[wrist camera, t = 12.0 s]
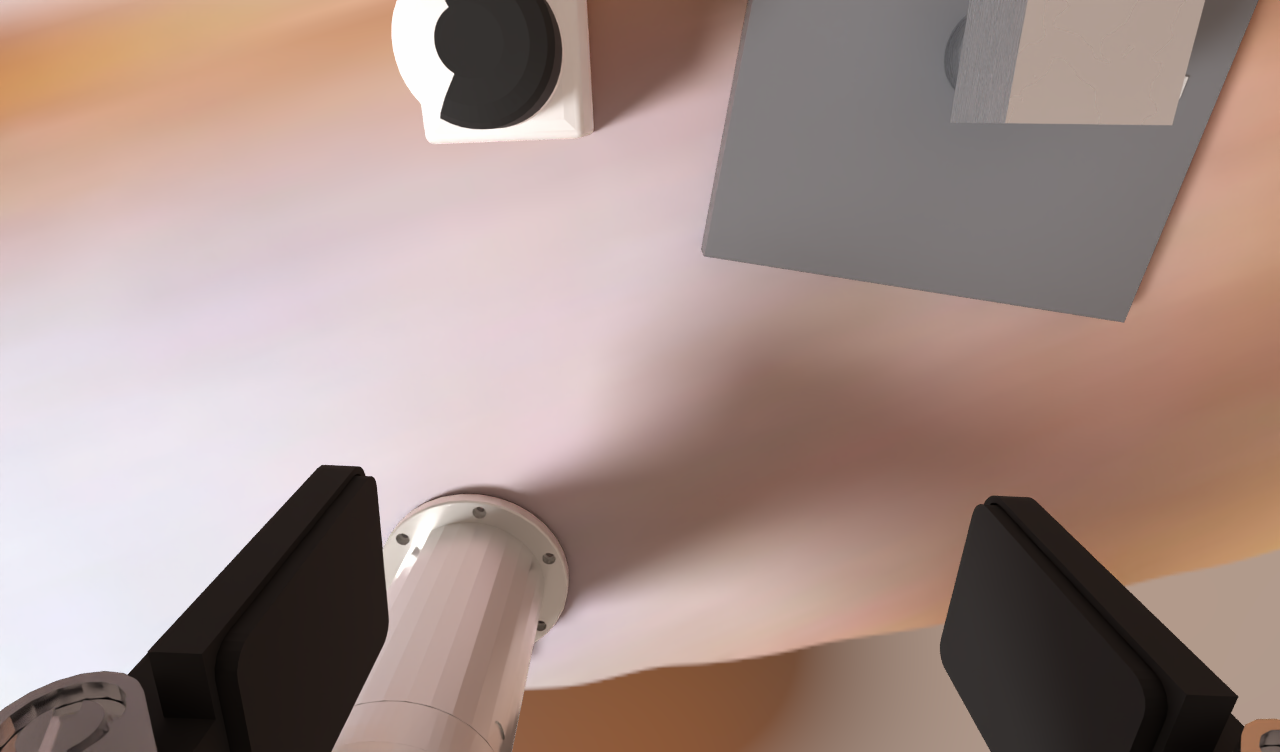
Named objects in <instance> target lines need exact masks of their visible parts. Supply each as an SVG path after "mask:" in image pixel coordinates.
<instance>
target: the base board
mask: <svg viewBox="0 0 1280 752" xmlns="http://www.w3.org/2000/svg"><path fill="white" fill-rule="evenodd" d="M1257 2H1258V0H1205V3H1204V6H1203V10H1202V14H1201V18H1200V22H1199V25H1198V29H1197V33H1196V37H1195V41H1194V44H1193V48H1192V52H1191V56H1190V59H1189V63H1188V67H1187V71H1186V75H1185V78H1184V82H1183V86H1182V90H1181V94H1180V97H1179V101H1178V105H1177V109H1176V113H1175V116H1174V120H1173V124H1172V125H1099V124H1019V123H950V120H951V114H952V108H953V101H954V95H955V90H954V89H953V88H952V86H951V85H950V83H949V81H948V79H947V76H946V73H945V67H944V55H945V49H946V45H947V42H948V40H949V37H950V35H951V33H952V32H953V30H954V28H955V27H956V26H957V25H958V23H959V22H960V21H961V20H962V19H963V18H964V17H965V16H966V15H967V13H968V6H969V0H748V3H747V8H746V14H745V19H744V24H743V30H742V35H741V40H740V46H739V51H738V56H737V61H736V67H735V72H734V77H733V83H732V88H731V93H730V99H729V104H728V109H727V115H726V120H725V125H724V131H723V136H722V141H721V147H720V152H719V157H718V163H717V168H716V173H715V179H714V184H713V189H712V195H711V200H710V205H709V210H708V216H707V221H706V226H705V232H704V237H703V242H702V248H701V250H702V253H703V255H704V256H706V257H712V258H719V259H725V260H731V261H738V262H744V263H750V264H757V265H763V266H769V267H776V268H782V269H788V270H795V271H801V272H807V273H814V274H820V275H826V276H833V277H839V278H845V279H852V280H858V281H864V282H871V283H877V284H883V285H890V286H896V287H902V288H909V289H915V290H921V291H928V292H934V293H940V294H947V295H953V296H959V297H966V298H972V299H978V300H985V301H991V302H997V303H1004V304H1010V305H1016V306H1023V307H1029V308H1035V309H1042V310H1048V311H1054V312H1061V313H1067V314H1073V315H1080V316H1086V317H1092V318H1099V319H1105V320H1111V321H1118V322H1124V321H1125V319H1126V317H1127V314H1128V312H1129V309H1130V307H1131V305H1132V302H1133V300H1134V297H1135V295H1136V293H1137V290H1138V288H1139V285H1140V283H1141V281H1142V278H1143V276H1144V274H1145V271H1146V269H1147V266H1148V264H1149V262H1150V259H1151V257H1152V254H1153V252H1154V250H1155V247H1156V245H1157V242H1158V240H1159V238H1160V235H1161V233H1162V230H1163V228H1164V226H1165V223H1166V221H1167V218H1168V216H1169V214H1170V211H1171V209H1172V206H1173V204H1174V202H1175V199H1176V197H1177V194H1178V192H1179V190H1180V187H1181V185H1182V182H1183V180H1184V178H1185V175H1186V173H1187V170H1188V168H1189V166H1190V163H1191V161H1192V158H1193V156H1194V154H1195V151H1196V149H1197V146H1198V144H1199V142H1200V139H1201V137H1202V134H1203V132H1204V130H1205V127H1206V125H1207V122H1208V120H1209V118H1210V115H1211V113H1212V110H1213V108H1214V106H1215V103H1216V101H1217V98H1218V96H1219V94H1220V91H1221V89H1222V86H1223V84H1224V82H1225V79H1226V77H1227V74H1228V72H1229V70H1230V67H1231V65H1232V62H1233V60H1234V58H1235V55H1236V53H1237V50H1238V48H1239V46H1240V43H1241V41H1242V38H1243V36H1244V34H1245V31H1246V29H1247V26H1248V24H1249V22H1250V19H1251V17H1252V14H1253V12H1254V10H1255V7H1256V5H1257Z"/></svg>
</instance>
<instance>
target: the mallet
mask: <svg viewBox="0 0 1280 752" xmlns="http://www.w3.org/2000/svg"><path fill="white" fill-rule="evenodd" d="M1204 3H1205V0H969V6H968V13H967V19H966V25H965V32H964V38H963V44H962V51H961V57H960V63H959V70H958V76H957V82H956V89H955V95H954V101H953V108H952V114H951V120H950V123H1019V124H1099V125H1172V124H1173V120H1174V116H1175V113H1176V109H1177V105H1178V101H1179V97H1180V94H1181V90H1182V86H1183V82H1184V78H1185V75H1186V71H1187V67H1188V63H1189V59H1190V56H1191V52H1192V48H1193V44H1194V41H1195V37H1196V33H1197V29H1198V25H1199V22H1200V18H1201V14H1202V10H1203V6H1204Z"/></svg>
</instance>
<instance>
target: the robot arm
mask: <svg viewBox="0 0 1280 752" xmlns="http://www.w3.org/2000/svg"><path fill="white" fill-rule="evenodd" d="M480 507H482V508H480ZM568 585H569V573H568V564H567V561H566V558H565V555H564V551H563V549H562V547H561V546H560V544H559V542H558V540H557V539H556V537H555V536H554V534H553V533H552V532H551V531H550V530H549V529H548V527H547V526H546V525H545V524H544V523H543V522H542V521H540V520H539V519H538V518H537V517H535V516H534V515H533V514H532V513H530V512H529V511H527V510H525V509H523V508H521V507H520V506H518V505H516V504H514V503H511V502H508V501H505V500H503V499H500V498H497V497H491V496H486V495H480V494H457V495H451V496H445V497H440V498H438V499H435V500H432V501H429V502H426V503H424V504H423V505H421V506H419V507H417V508H416V509H414V510H412V511H411V512H410V513H409V514H407V515H406V516H405V517H404V518H403V519H402V520H401V521H400V522H399V523H398V524H397V526H396V527H395V529H394V530H393V531H392V533H391V534H390V536H389V538H388V540H387V542H386V544H385V545H384V547H383V548H382V537H381V527H380V516H379V505H378V494H377V485H376V481H375V479H374V478H373V477H372V476H365V473H364V471H363V469H362V468H361V467H357V466H335V465H321V466H320V467H319V468H317V469H316V471H315V472H314V473H313V474H312V475H311V476H310V477H309V478H308V479H307V480H306V481H305V482H304V483H303V485H302V486H301V487H300V488H299V489H298V490H297V491H296V492H295V493H294V494H293V495H292V496H291V497H290V499H289V500H288V501H287V502H286V503H285V504H284V505H283V506H282V507H281V508H280V509H279V510H278V512H277V513H276V514H275V515H274V516H273V517H272V518H271V519H270V520H269V521H268V522H267V523H266V524H265V526H264V527H263V528H262V529H261V530H260V531H259V532H258V533H257V534H256V535H255V536H254V537H253V538H252V540H251V541H250V542H249V543H248V544H247V545H246V546H245V547H244V548H243V549H242V550H241V551H240V553H239V554H238V555H237V556H236V557H235V558H234V559H233V560H232V561H231V562H230V563H229V564H228V565H227V567H226V568H225V569H224V570H223V571H222V572H221V573H220V574H219V575H218V576H217V577H216V578H215V579H214V581H213V582H212V583H211V584H210V585H209V586H208V587H207V588H206V589H205V590H204V591H203V592H202V593H201V595H200V596H199V597H198V598H197V599H196V600H195V601H194V602H193V603H192V604H191V605H190V606H189V608H188V609H187V610H186V611H185V612H184V613H183V614H182V615H181V616H180V617H179V618H178V619H177V620H176V622H175V623H174V624H173V625H172V626H171V627H170V628H169V629H168V630H167V631H166V632H165V633H164V634H163V636H162V637H161V638H160V639H159V640H158V641H157V642H156V643H155V644H154V645H153V646H152V647H151V649H150V650H149V651H148V653H147V654H146V655H145V656H144V658H143V659H142V660H141V661H140V662H139V663H138V664H137V665H136V666H135V667H134V668H133V669H132V670H131V672H130V673H129V674H128V675H127V674H125V673H118V672H109V671H101V672H92V673H83V674H79V675H75V676H72V677H68V678H65V679H61V680H58V681H55V682H52V683H50V684H48V685H46V686H43V687H41V688H39V689H36V690H34V691H32V692H30V693H28V694H26V695H25V696H23V697H21V698H20V699H18V700H16V701H15V702H13V703H11V704H10V705H8V706H6V707H5V708H4V709H2V710H1V711H0V752H512V748H513V743H514V738H515V733H516V728H517V723H518V718H519V714H520V709H521V704H522V699H523V694H524V689H525V684H526V679H527V674H528V670H529V665H530V660H531V655H532V650H533V645H534V643H535V642H537V641H538V640H539V639H541V638H542V637H543V636H544V635H546V634H547V633H548V632H549V631H550V629H551V628H552V627H553V626H554V625H555V623H556V622H557V621H558V619H559V617H560V615H561V613H562V611H563V609H564V606H565V602H566V598H567V593H568ZM940 654H941V660H942V663H943V665H944V668H945V670H946V672H947V673H948V675H949V677H950V679H951V681H952V682H953V684H954V686H955V688H956V690H957V691H958V693H959V695H960V697H961V699H962V701H963V702H964V704H965V706H966V708H967V709H968V711H969V713H970V715H971V717H972V719H973V720H974V722H975V724H976V726H977V728H978V729H979V731H980V733H981V735H982V737H983V738H984V740H985V742H986V744H987V746H988V747H989V749H990V751H991V752H1280V720H1278V719H1257V720H1255V721H1252V722H1250V723H1248V724H1246V725H1245V727H1244V726H1243V725H1242V724H1241V723H1240V722H1239V721H1238V720H1237V719H1236V718H1235V717H1234V716H1233V715H1232V714H1231V712H1232V709H1233V707H1234V705H1235V703H1236V700H1237V698H1238V696H1237V695H1236V694H1235V693H1234V692H1233V691H1232V690H1231V689H1230V688H1229V687H1228V686H1227V685H1226V684H1225V683H1223V682H1222V680H1221V679H1219V678H1218V677H1217V676H1216V675H1215V674H1214V673H1213V672H1212V671H1211V670H1210V669H1209V668H1208V667H1207V666H1206V665H1205V664H1204V663H1203V662H1202V661H1201V660H1200V659H1199V658H1198V657H1197V656H1196V655H1195V654H1193V652H1192V651H1191V650H1189V649H1188V648H1187V647H1186V646H1185V645H1184V644H1183V643H1182V642H1181V641H1180V640H1179V639H1178V638H1177V637H1176V636H1175V635H1174V634H1173V633H1172V632H1171V631H1170V630H1169V629H1168V628H1167V627H1166V626H1165V625H1164V624H1162V623H1161V622H1160V621H1159V620H1158V619H1157V618H1156V617H1155V616H1154V615H1153V614H1152V613H1151V612H1150V611H1149V610H1148V609H1147V608H1146V607H1145V606H1144V605H1143V604H1142V603H1141V602H1140V601H1139V600H1138V599H1137V598H1136V597H1135V596H1133V594H1132V593H1130V592H1129V591H1128V590H1127V589H1126V588H1125V587H1124V586H1123V585H1122V584H1121V583H1120V582H1119V581H1118V580H1117V579H1116V578H1115V577H1114V576H1113V575H1112V574H1111V573H1110V572H1109V571H1108V570H1107V569H1106V568H1105V567H1104V566H1103V565H1101V564H1100V563H1099V562H1098V561H1097V560H1096V559H1095V558H1094V557H1093V556H1092V555H1091V554H1090V553H1089V552H1088V551H1087V550H1086V549H1085V548H1084V547H1083V546H1082V545H1081V544H1080V543H1079V542H1078V541H1077V540H1076V539H1075V538H1074V537H1073V536H1071V535H1070V534H1069V533H1068V532H1067V531H1066V530H1065V529H1064V528H1063V527H1062V526H1061V525H1060V524H1059V523H1058V522H1057V521H1056V520H1055V519H1054V518H1053V517H1052V516H1051V515H1050V514H1049V513H1048V512H1047V511H1046V510H1045V509H1044V508H1042V507H1041V506H1040V505H1039V504H1038V503H1037V502H1036V501H1035V500H1033V499H1032V498H1028V497H1010V496H991V497H989V498H988V499H987V500H986V501H985V503H984V504H980V505H978V506H977V507H976V508H975V509H974V512H973V515H972V519H971V523H970V526H969V530H968V534H967V538H966V542H965V546H964V550H963V554H962V558H961V562H960V566H959V570H958V574H957V578H956V582H955V586H954V590H953V594H952V598H951V602H950V606H949V609H948V613H947V617H946V621H945V625H944V630H943V633H942V637H941V642H940Z"/></svg>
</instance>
